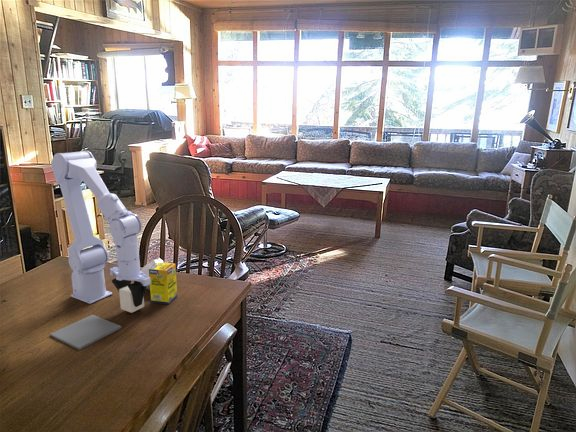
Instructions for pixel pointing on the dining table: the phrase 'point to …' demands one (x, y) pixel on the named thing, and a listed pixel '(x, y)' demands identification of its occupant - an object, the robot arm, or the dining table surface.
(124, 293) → the cream block
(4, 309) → the dining table surface
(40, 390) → the dining table surface
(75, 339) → the gray mat
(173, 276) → the supplement box
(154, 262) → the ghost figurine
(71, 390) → the dining table surface
